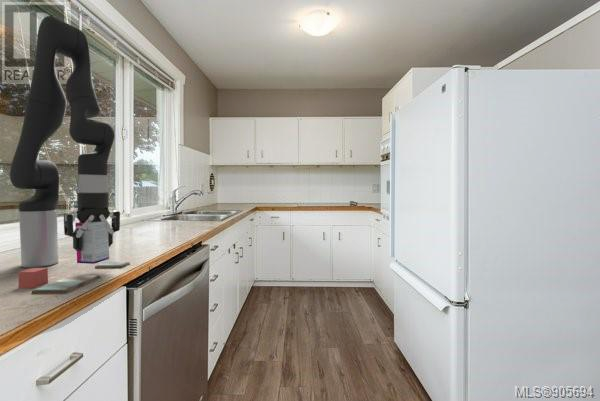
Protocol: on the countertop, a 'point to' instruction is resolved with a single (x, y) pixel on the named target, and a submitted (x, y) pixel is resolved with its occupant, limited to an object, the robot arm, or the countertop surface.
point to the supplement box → (93, 243)
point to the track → (76, 280)
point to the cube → (33, 277)
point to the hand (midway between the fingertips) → (93, 248)
